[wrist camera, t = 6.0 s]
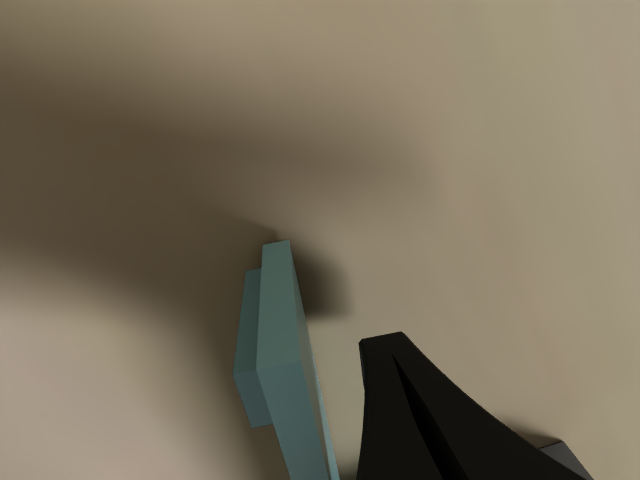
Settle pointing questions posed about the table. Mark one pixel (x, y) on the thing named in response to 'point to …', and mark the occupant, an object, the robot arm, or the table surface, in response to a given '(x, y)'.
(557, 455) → the block
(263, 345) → the door
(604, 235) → the table surface
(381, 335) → the robot arm
